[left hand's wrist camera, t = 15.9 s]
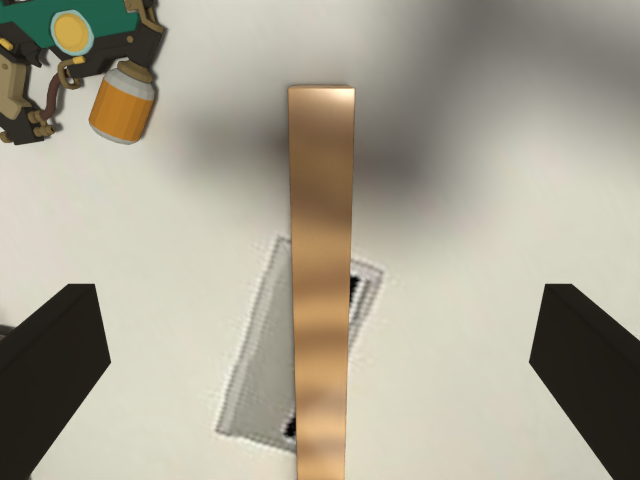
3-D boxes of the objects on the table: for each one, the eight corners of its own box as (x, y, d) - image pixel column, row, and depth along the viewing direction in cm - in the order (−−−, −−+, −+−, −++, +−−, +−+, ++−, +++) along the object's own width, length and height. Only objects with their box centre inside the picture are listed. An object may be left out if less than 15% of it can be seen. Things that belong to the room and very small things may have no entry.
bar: (293, 85, 39) (287, 87, 32) (349, 85, 39) (355, 87, 32) (302, 532, 60) (300, 590, 53) (338, 532, 60) (341, 590, 53)
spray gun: (-3, 137, 41) (-24, -45, 36) (171, 160, 41) (172, -20, 36) (-40, 141, 37) (-70, -62, 32) (151, 167, 37) (150, -35, 32)
